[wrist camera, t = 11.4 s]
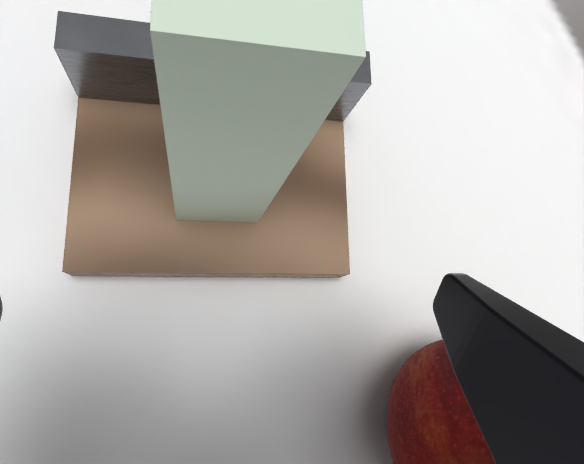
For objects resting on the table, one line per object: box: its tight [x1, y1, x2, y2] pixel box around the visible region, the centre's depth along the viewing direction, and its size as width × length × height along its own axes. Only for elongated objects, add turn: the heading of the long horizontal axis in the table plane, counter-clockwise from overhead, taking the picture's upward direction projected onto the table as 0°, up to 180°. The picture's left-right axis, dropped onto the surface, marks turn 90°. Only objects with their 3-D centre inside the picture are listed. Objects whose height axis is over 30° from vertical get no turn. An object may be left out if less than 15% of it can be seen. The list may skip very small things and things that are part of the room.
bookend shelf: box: [54, 11, 371, 277], centre depth 18 cm, size 9×12×5 cm
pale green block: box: [150, 0, 366, 223], centre depth 13 cm, size 4×4×12 cm
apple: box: [387, 340, 496, 464], centre depth 17 cm, size 7×8×8 cm
